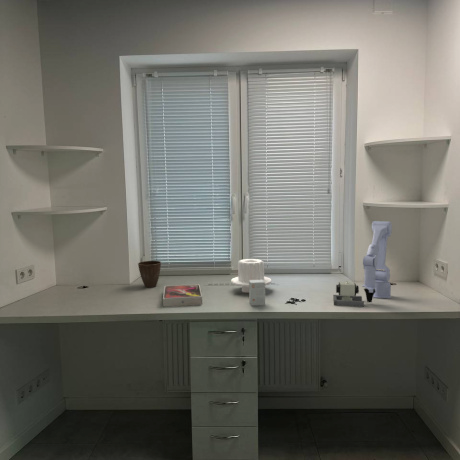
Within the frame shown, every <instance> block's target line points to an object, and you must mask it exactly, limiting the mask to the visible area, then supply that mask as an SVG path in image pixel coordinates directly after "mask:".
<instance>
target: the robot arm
mask: <svg viewBox="0 0 460 460" xmlns="http://www.w3.org/2000/svg"><path fill="white" fill-rule="evenodd" d="M392 230H393V224H392V222H391V221H383V220H382V221H381V220H380V221H379V220H374V221H372V223H371V231H372V233H373V235H372V241H371V243H370V244H369V245H368V248H367V250H366V251H367V252H366V253H365V254H366V255H365V256H363V259H362V266H363V271H364V277H363V278H364V279H363V280H364V281H363V284H362V285H361V287H362V288H363V290H364V294H365V297H366V302H367V303H372V302H373V299H374V298H376V299H378V298H379V299H391V298H392V297H391V293H392V292H391V290H392V287H391V282H390V278H391V272H390V271H391V269H390V268H389V267H388V265H386V258H387V249H388V248H387V247H388V239H389V237H391V236H392Z"/></svg>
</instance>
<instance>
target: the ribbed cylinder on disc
mask: <svg viewBox="0 0 460 460" xmlns="http://www.w3.org/2000/svg"><path fill="white" fill-rule="evenodd" d="M249 280H263V281H264V282H265V287H266V286H268V285H270V284H272V279H271V278H270V277H267V276H265V262H264V260H261V259H257V258H244V259H239V260H238V262H237V276H236V277H233V278H232V279H231V281H230V282H231V284H233V286H237V287H241V292H242V293H248V294H249Z"/></svg>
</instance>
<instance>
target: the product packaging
mask: <svg viewBox="0 0 460 460" xmlns="http://www.w3.org/2000/svg"><path fill="white" fill-rule="evenodd" d="M162 296H163V297H162V306H163V307H180V306H183V307H184V306H196V305H198V306H199V305H201V306H202V305H203V294H202V290H201V286H200V284H199V283H198V284H196V283H195V284H178V285H176V284H175V285H164V288H163V295H162Z"/></svg>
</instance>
